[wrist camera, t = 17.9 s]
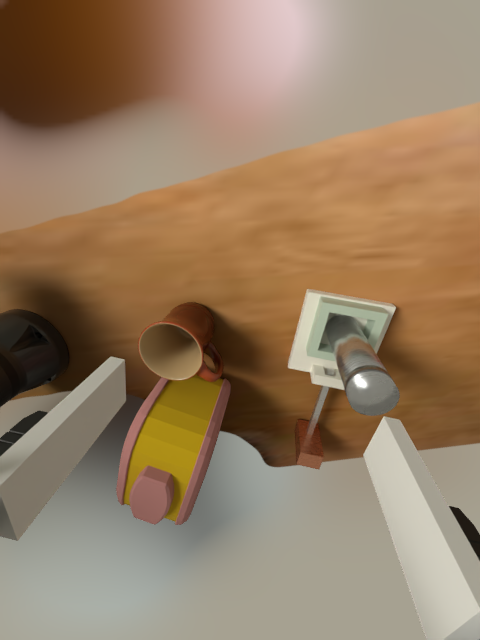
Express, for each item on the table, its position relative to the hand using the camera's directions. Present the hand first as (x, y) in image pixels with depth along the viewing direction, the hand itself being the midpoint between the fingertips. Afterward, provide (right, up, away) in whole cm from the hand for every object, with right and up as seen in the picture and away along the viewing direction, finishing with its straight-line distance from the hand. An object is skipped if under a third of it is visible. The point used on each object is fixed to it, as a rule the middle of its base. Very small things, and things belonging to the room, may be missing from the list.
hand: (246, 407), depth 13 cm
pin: (+13, -9, +31) cm, 35 cm away
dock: (+14, +2, +27) cm, 30 cm away
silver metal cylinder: (+14, +3, +25) cm, 29 cm away
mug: (-7, +3, +30) cm, 31 cm away
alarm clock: (-9, -10, +36) cm, 39 cm away
